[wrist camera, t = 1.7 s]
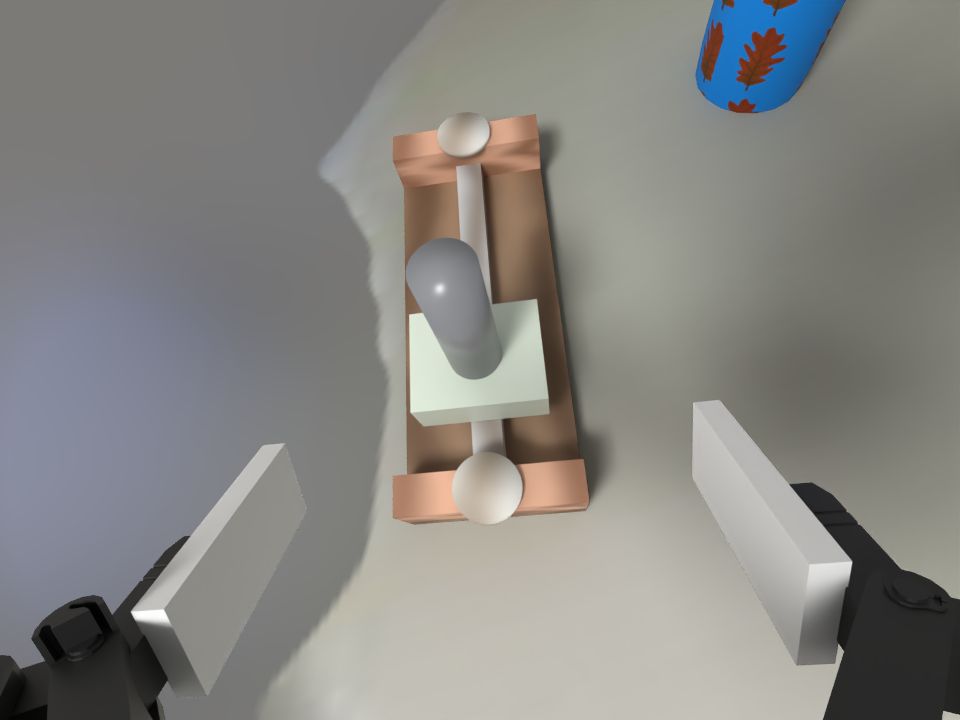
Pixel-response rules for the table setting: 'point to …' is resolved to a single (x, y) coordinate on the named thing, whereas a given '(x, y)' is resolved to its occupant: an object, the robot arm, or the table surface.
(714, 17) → the thermos
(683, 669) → the table surface
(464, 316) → the carriage
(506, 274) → the rail board
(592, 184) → the table surface
